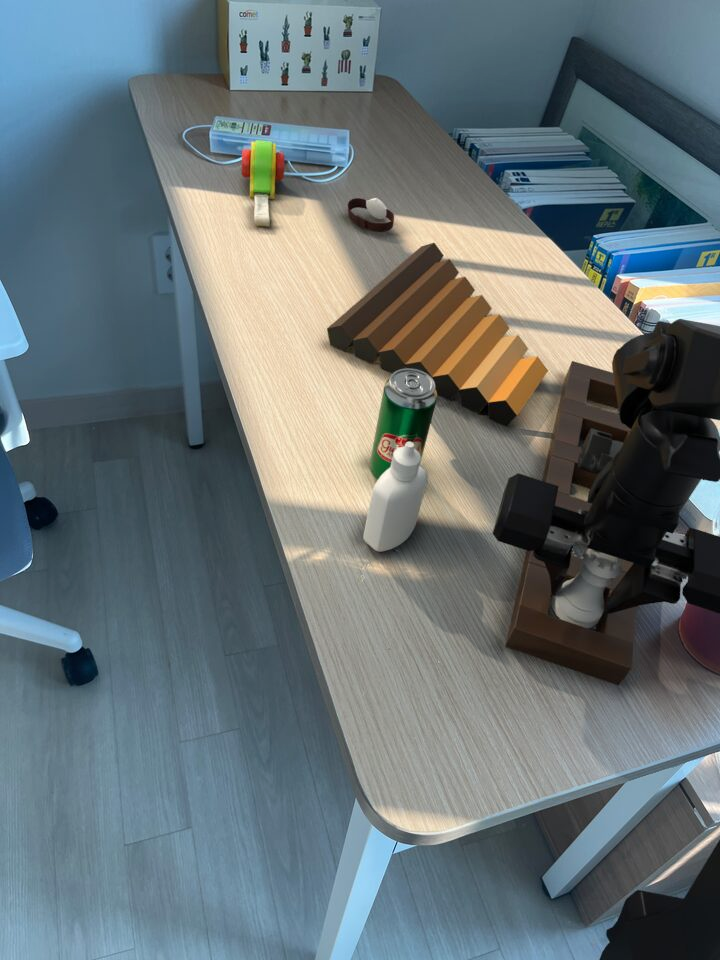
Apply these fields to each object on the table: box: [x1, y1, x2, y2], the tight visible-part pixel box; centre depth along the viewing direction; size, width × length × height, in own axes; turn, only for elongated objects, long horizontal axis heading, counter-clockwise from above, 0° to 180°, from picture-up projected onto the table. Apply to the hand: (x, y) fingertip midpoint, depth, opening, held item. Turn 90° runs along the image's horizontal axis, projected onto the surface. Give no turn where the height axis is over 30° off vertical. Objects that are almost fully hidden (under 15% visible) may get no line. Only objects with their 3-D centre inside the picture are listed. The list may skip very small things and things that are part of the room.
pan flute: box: [326, 242, 549, 428], centre depth 95 cm, size 25×3×25 cm
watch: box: [347, 197, 395, 233], centre depth 112 cm, size 8×5×4 cm, turn 56°
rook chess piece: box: [551, 548, 622, 629], centre depth 64 cm, size 4×4×8 cm
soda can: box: [369, 368, 438, 481], centre depth 74 cm, size 5×5×12 cm
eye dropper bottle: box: [362, 442, 429, 553], centre depth 68 cm, size 4×6×12 cm
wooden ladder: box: [505, 360, 638, 686], centre depth 77 cm, size 40×10×3 cm, turn 162°
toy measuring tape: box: [241, 139, 285, 228], centre depth 113 cm, size 6×20×7 cm, turn 4°
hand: (580, 600), depth 66 cm, fingers closed on rook chess piece, 4 cm apart
